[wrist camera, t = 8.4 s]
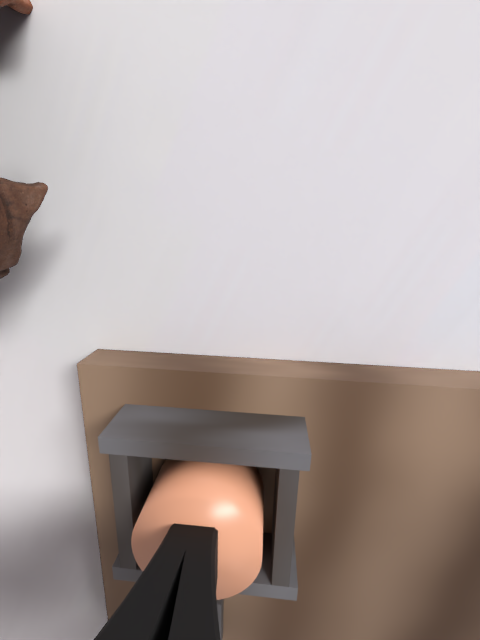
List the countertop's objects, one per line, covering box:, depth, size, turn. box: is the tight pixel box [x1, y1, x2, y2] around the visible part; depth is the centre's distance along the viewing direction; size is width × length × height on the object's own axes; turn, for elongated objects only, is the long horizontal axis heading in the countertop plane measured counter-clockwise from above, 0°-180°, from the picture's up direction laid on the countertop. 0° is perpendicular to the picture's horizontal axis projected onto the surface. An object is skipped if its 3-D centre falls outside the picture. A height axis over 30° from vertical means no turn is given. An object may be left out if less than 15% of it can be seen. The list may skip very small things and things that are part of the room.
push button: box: [131, 459, 264, 600], centre depth 11 cm, size 4×4×2 cm
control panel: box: [77, 349, 480, 640], centre depth 14 cm, size 18×23×4 cm
